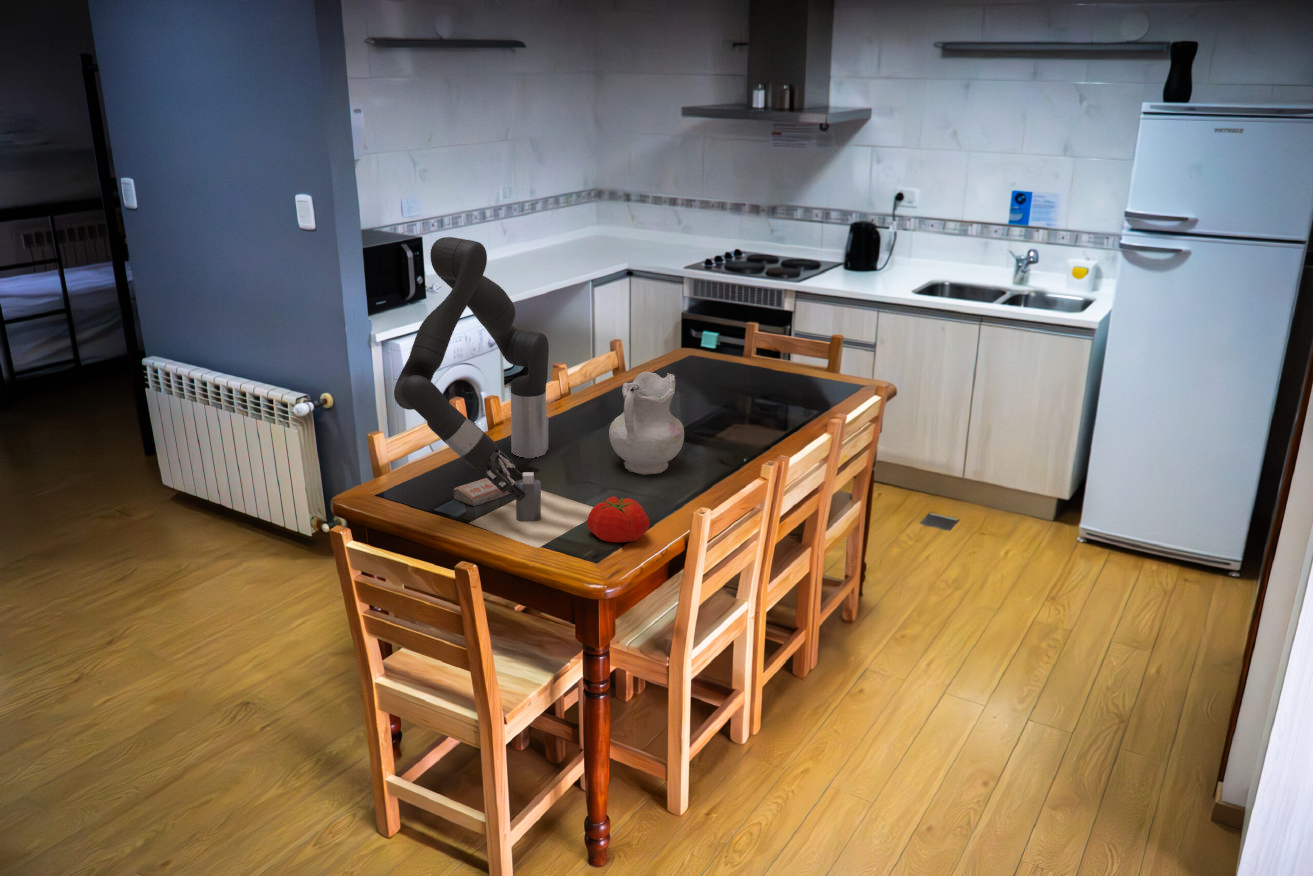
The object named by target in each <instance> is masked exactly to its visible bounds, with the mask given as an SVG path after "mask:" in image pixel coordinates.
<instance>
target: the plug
mask: <svg viewBox="0 0 1313 876" xmlns="http://www.w3.org/2000/svg"><path fill="white" fill-rule="evenodd" d="M534 473H535V472H534V471H533V472H527V471H525V472H522V475H523V480H518V481H516V485H517V486H518V487H519V488H520V489H522V490H523V491H524V492H525V493H526V496H525V497H524V498H523V499H522V500H521V501H518V500H517V499H516V498H515V500H516V520H518V521H522V522H524V521H539V520H540V519H541V490H542V488H541V487H542V481H541V480H539V479H535V476H534Z"/></svg>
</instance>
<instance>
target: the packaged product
mask: <svg viewBox="0 0 1313 876" xmlns="http://www.w3.org/2000/svg"><path fill="white" fill-rule="evenodd" d="M511 480H512V481H513V482H514V483H515V484H516V482H515V481H514V480H513V479H512V478H511ZM503 483H504V484H506V483H505V482H503ZM452 491H453V493H452V494H453V500H456V502H462V503H465V504H466V505H469V506H472V507H476V506H479V505H482V504H485V503H488V502H491V501H494V500H498V499H500V498H503V497H506V496H508V495H511V494H510V493H509V492H508V491H507V492H505V493H503V492H501V490H499V489H498V488H497V487H496V486H495V485H494V484H493V483H492V482H491V481H490V480H489V479H487V478H486V477H484V478H482V479H479V480H475V481H472V482H469V483H466V484H461V485H459V486H456V487H454V489H453V490H452Z"/></svg>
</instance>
